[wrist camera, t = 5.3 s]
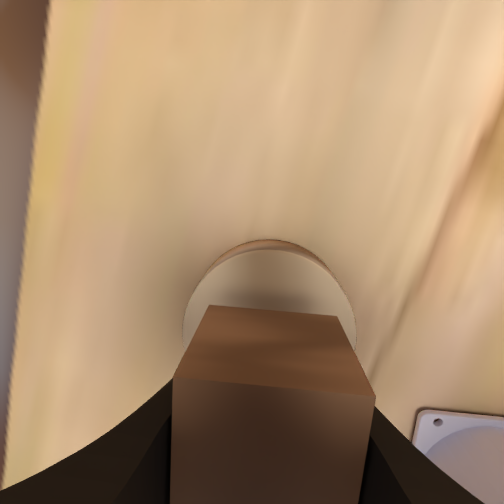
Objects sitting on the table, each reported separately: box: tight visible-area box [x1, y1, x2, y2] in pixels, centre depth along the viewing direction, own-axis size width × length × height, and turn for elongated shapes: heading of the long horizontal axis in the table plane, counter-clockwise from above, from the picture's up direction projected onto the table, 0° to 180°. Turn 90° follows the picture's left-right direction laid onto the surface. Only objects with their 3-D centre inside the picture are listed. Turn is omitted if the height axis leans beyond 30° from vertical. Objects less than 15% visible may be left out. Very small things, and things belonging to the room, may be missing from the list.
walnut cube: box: [170, 305, 376, 504], centre depth 10 cm, size 4×4×4 cm
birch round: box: [182, 240, 356, 352], centre depth 17 cm, size 8×8×4 cm
